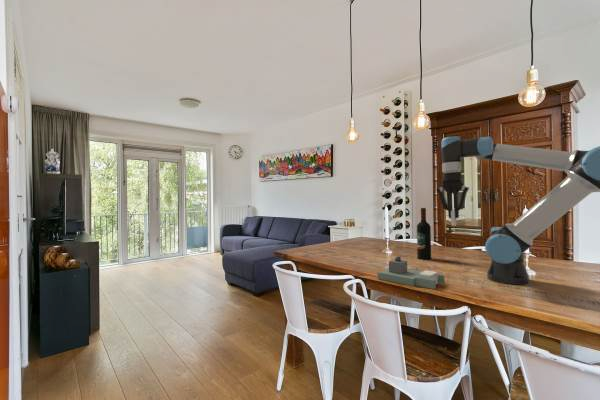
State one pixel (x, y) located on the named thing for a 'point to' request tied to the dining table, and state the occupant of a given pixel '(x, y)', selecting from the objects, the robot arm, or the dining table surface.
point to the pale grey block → (429, 275)
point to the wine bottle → (423, 238)
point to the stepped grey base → (406, 275)
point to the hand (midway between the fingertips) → (454, 225)
